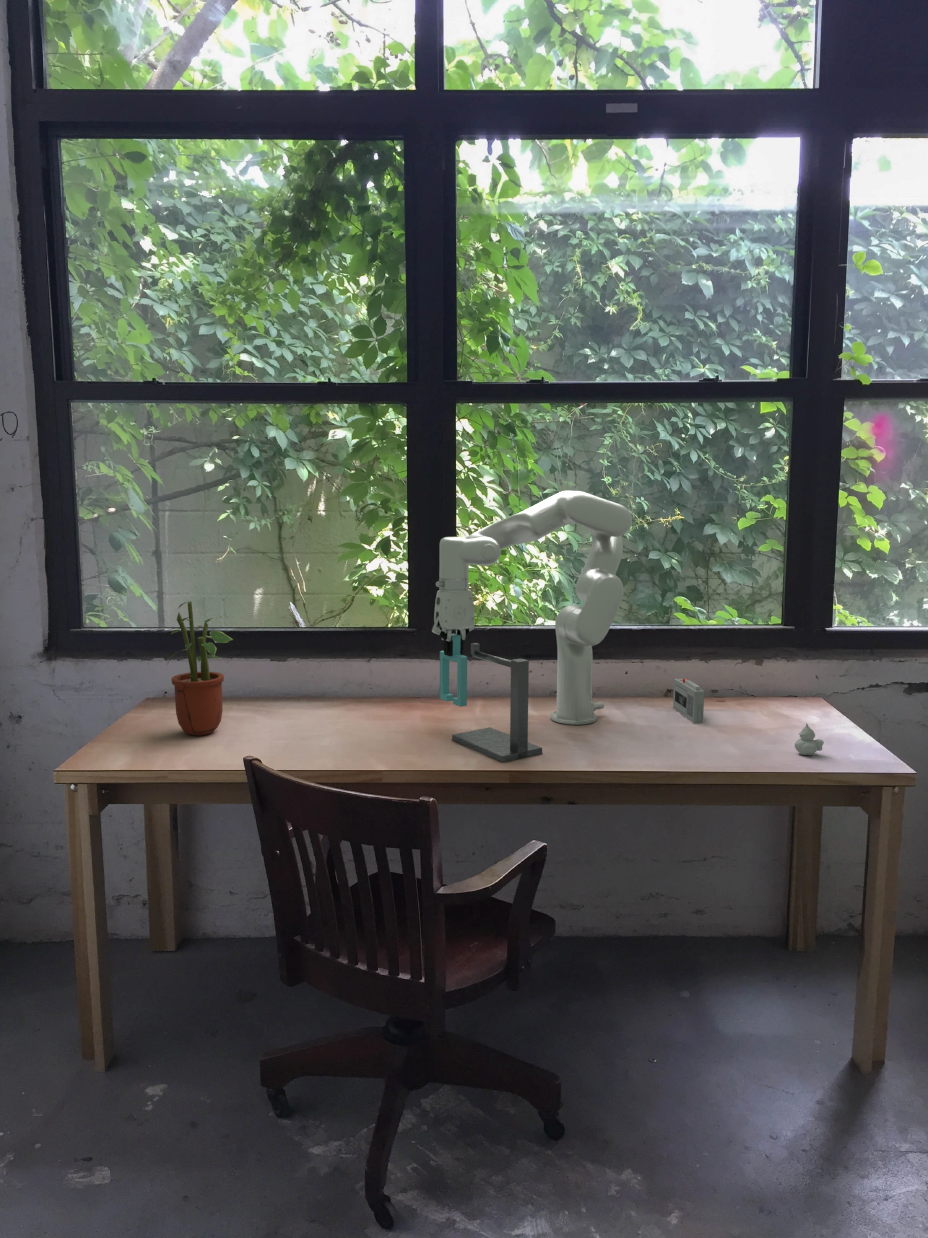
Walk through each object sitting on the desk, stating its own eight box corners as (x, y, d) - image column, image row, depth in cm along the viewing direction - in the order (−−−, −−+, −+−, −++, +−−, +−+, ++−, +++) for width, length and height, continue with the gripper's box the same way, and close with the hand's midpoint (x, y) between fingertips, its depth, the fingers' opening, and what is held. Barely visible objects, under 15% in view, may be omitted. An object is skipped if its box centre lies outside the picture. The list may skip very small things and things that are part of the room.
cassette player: (672, 709, 261) (674, 675, 259) (681, 708, 261) (683, 675, 259) (693, 723, 245) (695, 687, 244) (702, 723, 246) (704, 687, 244)
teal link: (467, 705, 235) (468, 637, 232) (459, 706, 233) (460, 638, 230) (446, 697, 243) (447, 631, 240) (438, 699, 241) (439, 632, 239)
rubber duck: (792, 750, 221) (794, 719, 220) (820, 752, 220) (822, 720, 219) (796, 757, 216) (798, 725, 215) (825, 758, 215) (827, 726, 214)
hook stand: (490, 732, 236) (490, 640, 232) (542, 753, 218) (543, 653, 215) (451, 740, 229) (451, 645, 225) (502, 762, 212) (503, 659, 208)
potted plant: (211, 741, 228) (205, 604, 223) (155, 737, 231) (148, 602, 226) (242, 723, 245) (237, 595, 240) (189, 719, 248) (183, 593, 243)
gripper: (435, 588, 226) (435, 660, 228) (487, 584, 235) (486, 654, 237) (419, 585, 232) (419, 655, 235) (471, 581, 241) (470, 649, 243)
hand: (453, 654), depth 236 cm, fingers closed on teal link, 2 cm apart
